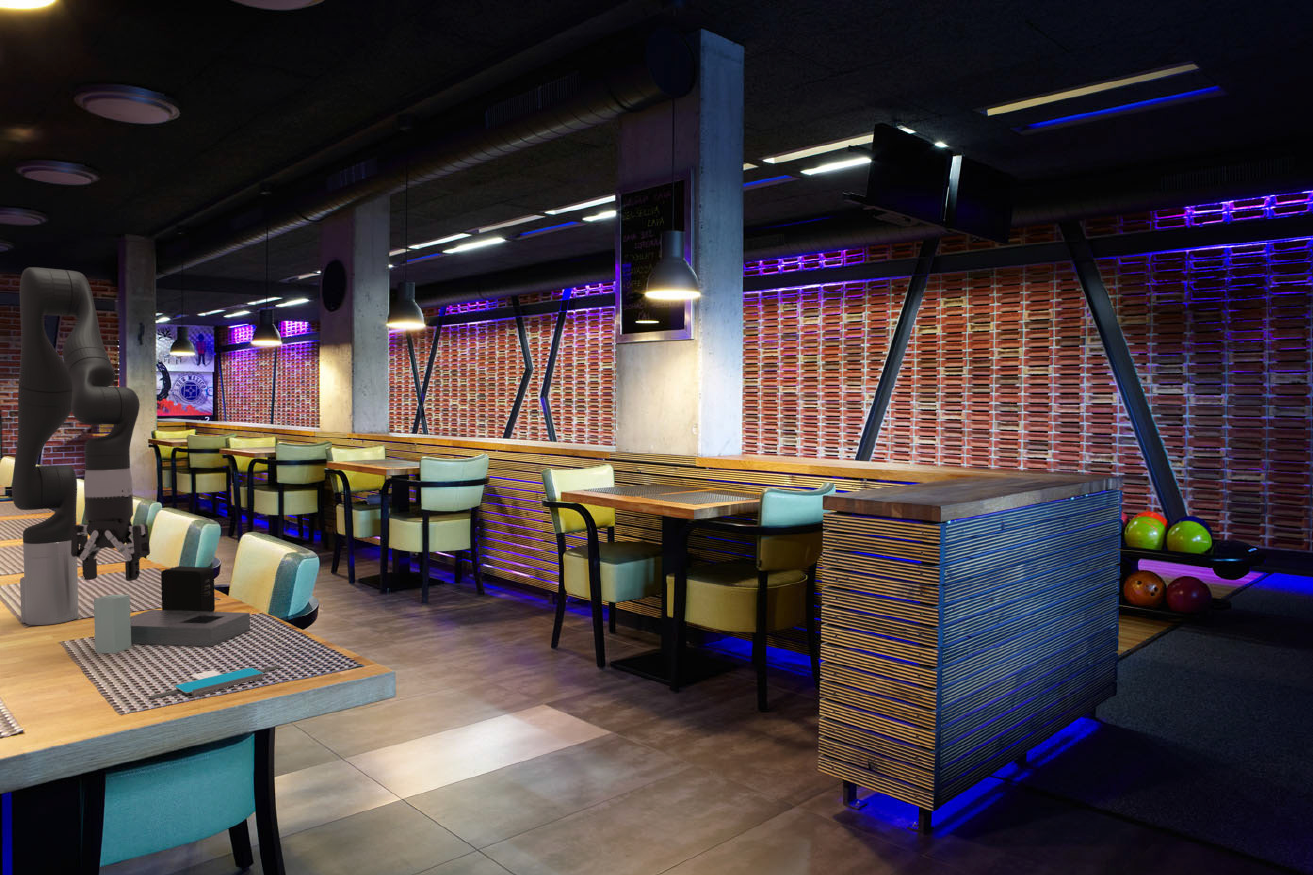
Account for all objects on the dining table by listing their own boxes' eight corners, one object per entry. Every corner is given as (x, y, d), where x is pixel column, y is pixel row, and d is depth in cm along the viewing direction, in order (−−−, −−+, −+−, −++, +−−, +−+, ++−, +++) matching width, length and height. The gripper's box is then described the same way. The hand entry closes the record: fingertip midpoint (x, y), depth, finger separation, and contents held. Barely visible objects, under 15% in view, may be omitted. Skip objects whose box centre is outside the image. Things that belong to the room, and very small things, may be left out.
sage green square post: (95, 652, 153) (93, 599, 152) (112, 646, 157) (110, 594, 156) (114, 653, 152) (113, 600, 152) (131, 647, 156) (129, 595, 156)
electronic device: (201, 616, 179) (200, 571, 178) (161, 614, 181) (160, 569, 180) (215, 612, 183) (214, 567, 183) (176, 610, 185) (175, 566, 185)
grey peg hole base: (106, 642, 159) (105, 624, 159) (152, 626, 171) (151, 609, 171) (210, 646, 156) (210, 628, 156) (250, 629, 168) (249, 612, 168)
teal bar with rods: (261, 662, 148) (261, 653, 148) (292, 676, 140) (292, 667, 140) (135, 692, 133) (135, 682, 133) (162, 709, 125) (162, 698, 125)
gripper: (57, 495, 151) (60, 583, 151) (127, 495, 149) (130, 584, 149) (90, 491, 158) (93, 575, 158) (158, 491, 156) (160, 576, 157)
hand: (111, 579), depth 154 cm, fingers open, 8 cm apart
